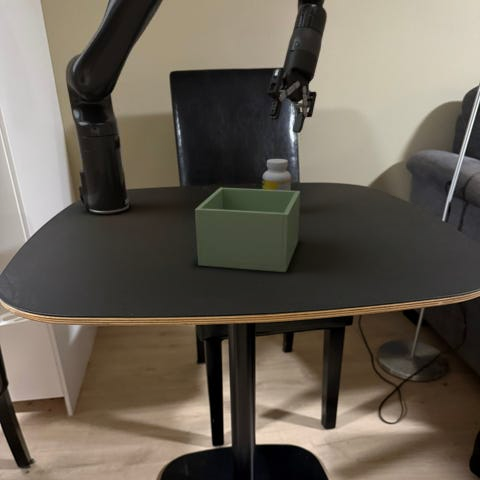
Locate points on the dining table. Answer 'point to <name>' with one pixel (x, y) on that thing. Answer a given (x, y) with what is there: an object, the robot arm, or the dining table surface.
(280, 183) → the pill bottle
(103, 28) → the robot arm
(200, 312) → the dining table surface
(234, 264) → the storage bin
